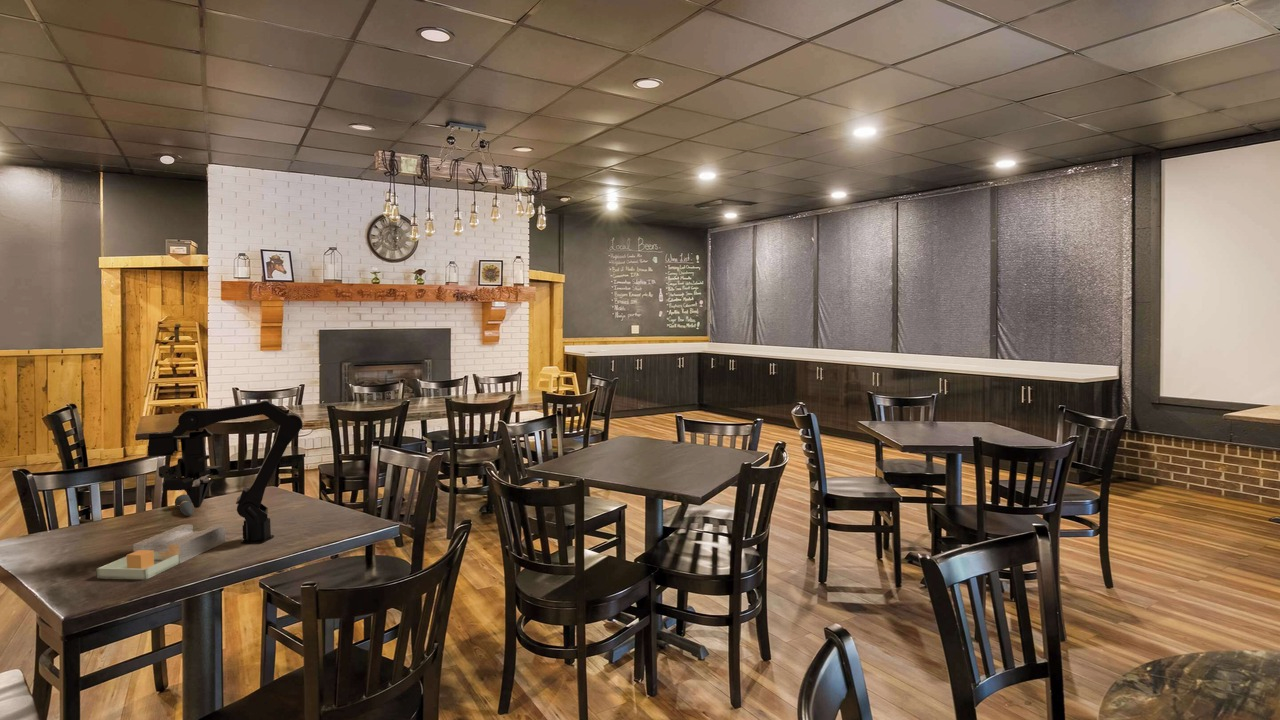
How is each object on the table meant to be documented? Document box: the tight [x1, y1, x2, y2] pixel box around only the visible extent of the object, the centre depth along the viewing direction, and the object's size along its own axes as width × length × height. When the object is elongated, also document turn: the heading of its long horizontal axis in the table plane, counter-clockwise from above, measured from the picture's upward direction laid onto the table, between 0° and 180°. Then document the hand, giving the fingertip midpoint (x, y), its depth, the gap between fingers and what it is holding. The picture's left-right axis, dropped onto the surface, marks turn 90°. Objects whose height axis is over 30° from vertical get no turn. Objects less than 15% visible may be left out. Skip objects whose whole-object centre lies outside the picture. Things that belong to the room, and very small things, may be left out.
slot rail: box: [133, 524, 227, 564], centre depth 191 cm, size 13×18×5 cm
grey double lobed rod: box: [174, 494, 194, 517], centre depth 233 cm, size 20×5×5 cm, turn 45°
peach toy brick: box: [126, 550, 154, 569], centre depth 176 cm, size 4×4×4 cm
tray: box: [96, 555, 180, 580], centre depth 176 cm, size 13×11×2 cm
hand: (197, 507), depth 193 cm, fingers closed
